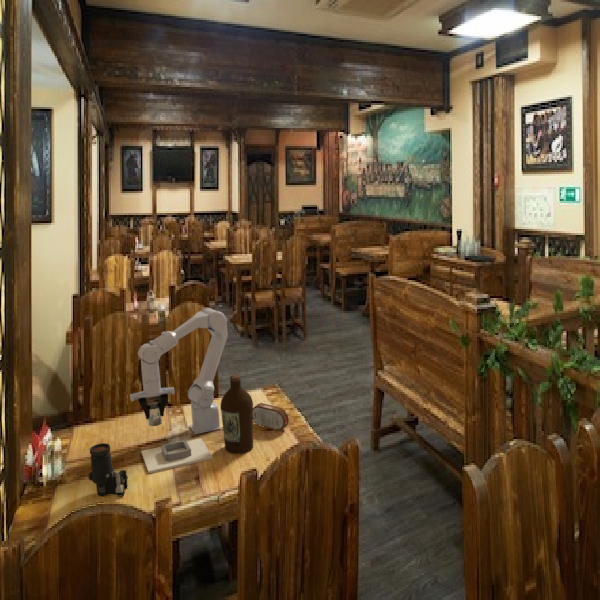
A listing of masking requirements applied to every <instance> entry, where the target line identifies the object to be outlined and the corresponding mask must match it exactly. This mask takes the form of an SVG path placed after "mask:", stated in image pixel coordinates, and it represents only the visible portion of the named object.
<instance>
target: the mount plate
mask: <svg viewBox="0 0 600 600" xmlns="http://www.w3.org/2000/svg"><path fill="white" fill-rule="evenodd" d="M187 441H189V443H187ZM141 455H142V456H141V457H142V458H143V461H144V464H145V467H147V468H146V470H148V471H147V473H150V474H153V473H158V472H162V471H166V470H171V469H175V468H179V467H180V468H181V467H184V466H188V465H193V464H196V463H200V462H205V461H209V460H213V455H212V453H211V452H210V450H209V449H208V447H207V446H206V444H205V442H204V441H203V439H202V438H201V437H200V438H195V439H192V440H179V441H173V442H170V443H164V444H162V445H160V446H159V447H154V448H149V449H146V450H141Z"/></svg>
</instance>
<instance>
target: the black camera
mask: <svg viewBox="0 0 600 600" xmlns="http://www.w3.org/2000/svg"><path fill="white" fill-rule="evenodd" d="M89 454H90V463H91V471H90V472H89V474H88V476H87V477H88V480H89V481H92V482H93V483H94V484H95V485H96V495H97V496H99V497H105V496H104V495H107V494H115V495H116V497H117V498H119V497H120V496H119V495H121V498H124V497H125V495H124V494H126V488H127V487H128V480H129V475H128V474H127V469H121V470H119V471H115V469H114V467H113V462H112V455H111V445H110V444H109V443H105V442H103V443H97V444H95V445H93V446H91V447H90V448H89ZM127 489H128V488H127ZM107 496H108V495H107ZM118 496H119V497H118ZM123 496H124V497H123Z"/></svg>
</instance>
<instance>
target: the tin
mask: <svg viewBox="0 0 600 600" xmlns="http://www.w3.org/2000/svg"><path fill="white" fill-rule="evenodd" d="M289 419H290V418H289V416H288V413H287V412H286V411H285V410H284V409H283V408H282V407H280V406H276V405H271V404H267V403H262V402H260V403H257V404H256V405H255V406H253V423H255V424H256V425H258V426H259V425H261V426H264V427H263V428H265V427H267V428H266V429H269V428H271V429H270V430H273V429H276V430H275V431H277V430H280V431H282V430H284V429H285V428H287V426H288V425H289V424H290V422H289V421H290V420H289ZM261 426H260V427H261Z"/></svg>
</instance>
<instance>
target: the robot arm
mask: <svg viewBox="0 0 600 600" xmlns="http://www.w3.org/2000/svg"><path fill="white" fill-rule="evenodd" d="M227 323H228V318H227V317H226V315H225V314H224V313H223V312H221V311H219V310H215V309H213V308H211V307H204V308H202V309H201V310H200V311H197V312H196V313H195V314H194V315H192V317H191V318H189V319H188V320H187V321H185V322H183V323H182V324H181V325H179V326H178V327H177V328H176V329H174V330H172V331H170V330H167V331H162V332H161V335H159V336H158V337H156V338H154V339H151V340H150V341H149V343H144V344H142V345H141V346H140V348H139V349H138V352H137V356H138V358H139V359H140V365H141V367H140V369H141V377H142V388H143V390H142V391H138V392H134V393H130V394H129V397H130V402H134V401H138V403H139V406H141V409H142V410H143V413H144V416H145V420H148V419H149V416H148V411H147V404H148V402H147V399H149V398H155V397H158V399H159V402H160V405H161V406H160V407H161V417H164V415H165V410H166V409H165V408H166V407H167V406H166V405H167V403H168V400H169V396H168V395H175V393H176V392H175V387H174V386H171V387H162V386H161V375H160V374H161V373H160V364H159V361H160V359H161V356H162V355H164V354H165V353H167V352H169V351H170V350H171V349H173V348H174V347H176V346H177V345H178V344H179V343H178V342H179V340H180V339H181V338H184V337H185V336H186V335H188V334H190V333H192V332H193V331H195V330H197V329H207V330H208V332H209V333H210V335H211V338H210V342H209V344H208V347H207V351H206V353H205V356H204V359H203V362H202V365H201V368H200V372H199V375H198V377H197V378H195V379H194V380H193V384H191V386H190V387H189V389H188V390H187V397H188V399H189V401H190V406H191V408H190V409H191V423H192V424H189V427H190V429H191V431H192V432H193V434H194V435H198V434H203V433H207V432H212V431H216V430H221V427H220V426H221V425H220V413H219V411H220V410H219V407H218V404H217V402H214V400H215V398H214V392H215V386H214V379H215V376H216V374H217V370H218V367H219V363H220V361H221V357H222V354H223V351H224V348H225V345H226V342H227V340H228V336H229V335H228V333H229V332H228V326H227Z"/></svg>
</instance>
